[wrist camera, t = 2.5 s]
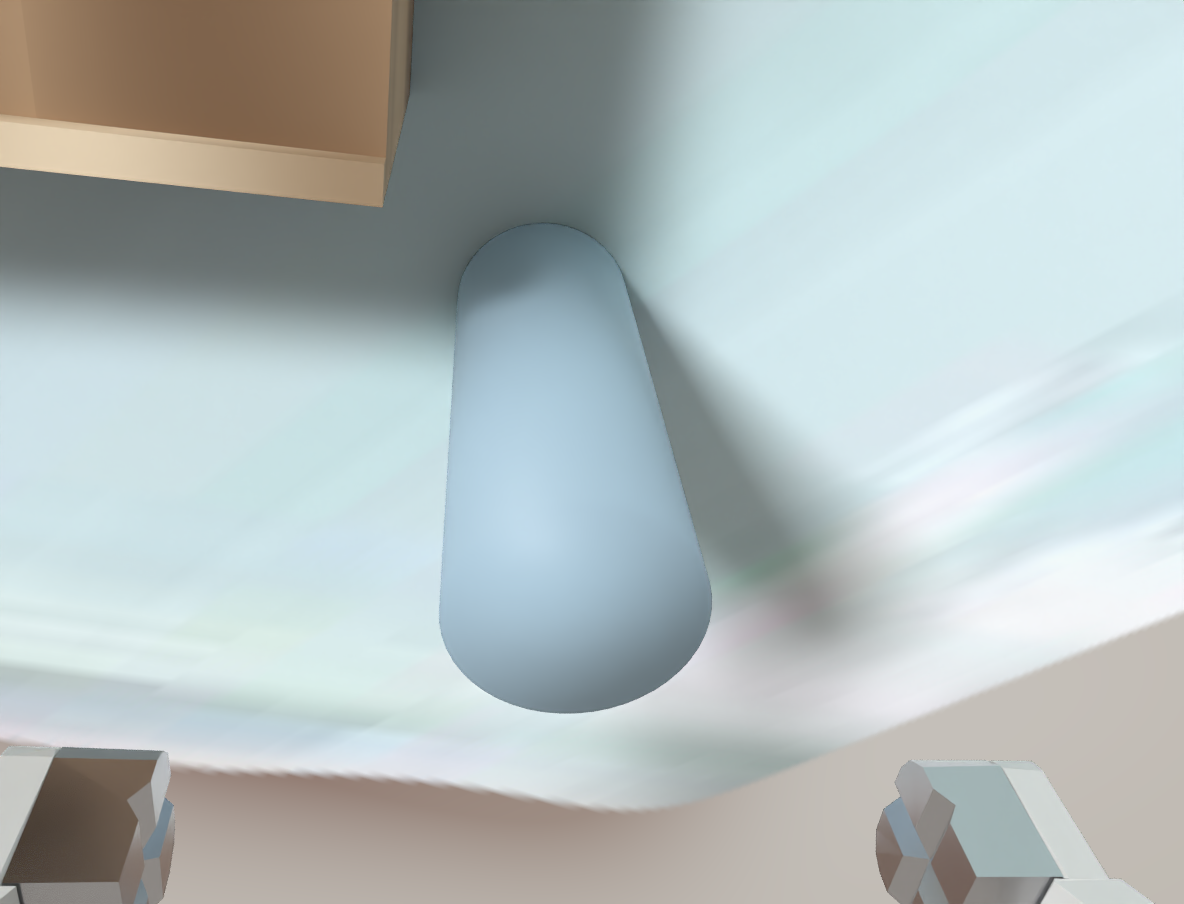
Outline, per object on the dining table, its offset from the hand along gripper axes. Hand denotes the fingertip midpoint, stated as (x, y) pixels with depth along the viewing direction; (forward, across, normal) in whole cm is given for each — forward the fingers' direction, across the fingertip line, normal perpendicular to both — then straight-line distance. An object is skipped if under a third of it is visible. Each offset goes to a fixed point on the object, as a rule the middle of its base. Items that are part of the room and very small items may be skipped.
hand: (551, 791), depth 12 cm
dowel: (+13, -1, 0) cm, 13 cm away
